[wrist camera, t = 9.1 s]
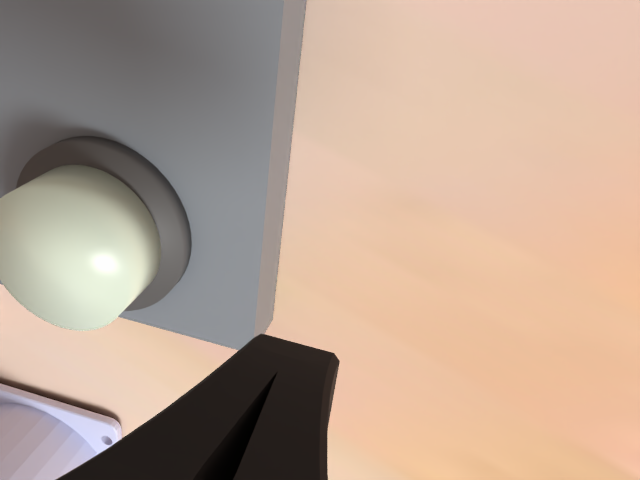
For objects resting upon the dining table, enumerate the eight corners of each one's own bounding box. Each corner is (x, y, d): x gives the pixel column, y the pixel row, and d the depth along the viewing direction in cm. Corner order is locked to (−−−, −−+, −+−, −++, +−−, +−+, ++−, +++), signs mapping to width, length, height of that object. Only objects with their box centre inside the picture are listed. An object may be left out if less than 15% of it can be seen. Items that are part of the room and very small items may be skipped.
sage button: (161, 312, 19) (131, 347, 17) (36, 278, 20) (-4, 308, 18) (160, 183, 17) (126, 209, 15) (20, 150, 18) (-27, 172, 16)
